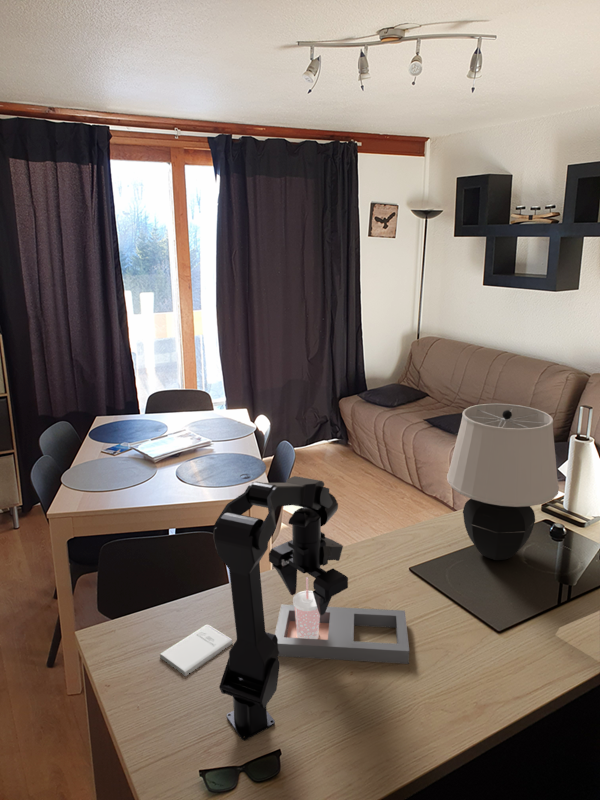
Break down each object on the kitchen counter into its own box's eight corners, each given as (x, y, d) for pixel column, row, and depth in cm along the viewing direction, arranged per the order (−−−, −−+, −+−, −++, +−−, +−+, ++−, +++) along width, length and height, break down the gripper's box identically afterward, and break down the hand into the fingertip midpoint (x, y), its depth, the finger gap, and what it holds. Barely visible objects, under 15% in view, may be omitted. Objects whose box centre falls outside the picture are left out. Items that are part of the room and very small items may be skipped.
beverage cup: (327, 639, 124) (327, 580, 120) (302, 649, 121) (301, 589, 117) (313, 623, 129) (312, 566, 125) (288, 632, 126) (286, 574, 123)
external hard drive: (160, 659, 120) (207, 629, 129) (185, 678, 115) (232, 645, 124) (159, 653, 120) (206, 622, 129) (185, 671, 114) (232, 638, 123)
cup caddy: (404, 622, 130) (404, 610, 129) (408, 663, 117) (409, 651, 116) (281, 615, 132) (281, 604, 132) (273, 655, 120) (272, 643, 119)
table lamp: (496, 522, 173) (507, 390, 162) (574, 566, 150) (593, 416, 139) (421, 544, 162) (428, 404, 151) (493, 596, 138) (507, 434, 127)
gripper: (368, 540, 117) (366, 608, 121) (306, 509, 131) (307, 571, 135) (326, 560, 110) (327, 632, 115) (266, 525, 124) (268, 590, 128)
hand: (307, 604), depth 123 cm, fingers open, 9 cm apart
